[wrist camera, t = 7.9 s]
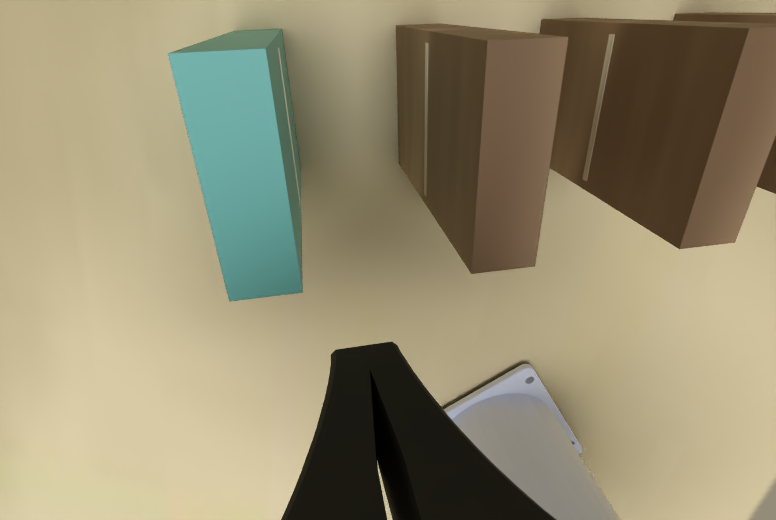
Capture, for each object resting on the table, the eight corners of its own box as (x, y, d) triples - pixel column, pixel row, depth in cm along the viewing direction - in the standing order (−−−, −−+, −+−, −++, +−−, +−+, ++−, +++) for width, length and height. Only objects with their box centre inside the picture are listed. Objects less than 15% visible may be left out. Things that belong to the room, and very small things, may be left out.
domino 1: (282, 29, 16) (266, 48, 8) (301, 170, 18) (303, 292, 10) (232, 31, 15) (166, 53, 8) (258, 174, 18) (228, 301, 10)
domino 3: (581, 17, 17) (818, 25, 9) (561, 149, 20) (736, 242, 12) (541, 19, 17) (748, 28, 9) (525, 152, 19) (678, 249, 12)
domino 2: (440, 23, 16) (569, 36, 9) (437, 159, 19) (535, 266, 11) (395, 25, 16) (486, 41, 8) (398, 163, 19) (470, 273, 11)
